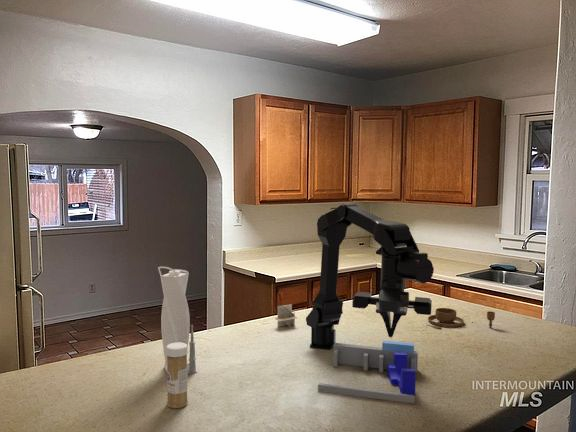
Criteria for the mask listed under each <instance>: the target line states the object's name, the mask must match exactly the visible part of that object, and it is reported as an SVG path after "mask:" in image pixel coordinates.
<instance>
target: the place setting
mask: <svg viewBox="0 0 576 432" xmlns="http://www.w3.org/2000/svg"><path fill="white" fill-rule="evenodd" d="M495 317H496V312H495V311H490V310H489V311H486V319H487V320H488V321H489V323H488V326H489V327H488V329H490V330H491V329H493V321H495ZM427 320H428V323H430V324H427V326H428V327H432V328H434V329H437V330H440V329H442V328H459V327H462V326H463V325H464V323H465V320H464V319H463V318H462V317H459V316H457V310H456V309H452V308H449V307H438V308H436V309H435V314H433V315H432V314H431V315H428V317H427ZM433 320H437V321H438V322H436V321H433ZM455 321H456V322H458V323H453V322H455Z"/></svg>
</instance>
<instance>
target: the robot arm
mask: <svg viewBox="0 0 576 432" xmlns="http://www.w3.org/2000/svg"><path fill="white" fill-rule="evenodd" d="M352 225H355V226H357V227H359V228H360V229H362V230H364V231H366V232H368V233H369V234H370V235H372V237H373V240H374V241H375V242H376V244H378V245H379V246H380V248H378V249H377V250H375V254H376V255H380V256H381V265H380V266H381V268H380V270H381V271H380V289H379V291H378V297H376V296H375V297H374V296H372V292H366V291H365V292H364V291H357V292H356V293H355V295H353V297H352V301H351V302H352V308H356V309H366V308H367V307H369V305H371V306H372V305H373V306H374V305H375V307H376V308H375V313H376V314H379V315H380V316H381V318H382V320H383V323H384V325H385V329H386V331H387V336H388V338H393V336H394V333H395V331H396V327H397V325H398V323H399V322H400V320H401V318H402V317H403V316H405V317H406V316H407V313H408V309H413V311H414V312H415V313H416V314H418V315H423V316H424V315H426V316H431V315H432V304H433V303H432V299H431V298H430V297H421V296H415V297H414V300H410V292H409V291H405V284H406V282H405V281H406V280H409V281H413V282H417V283H421V284H426V283H428V282H429V281H430V280H431V279H432V277H433V275H434V271H435V270H434V265H433V263H432V260H430V258H429V257H428V255H429V254H428V253H426V252H420V250H419V248H418V244H417V243H416V241H415V238H414V237H413V235H412V232H411V231H410V227H409V225H407V224H406V223H403V222H399V221H393V220H387V219H383V218H382V217H379V216H377V215H375V214H374V213H372V212H369V211H368V210H365V209H363V208H362V207H360V206H358V205H357V204H355V203H343V204H340V205H338V206H337V207H336V208H335V209H332V210H331V211H328V212H327V213H325V214H321V215H320V217H318V218H317V223H316V227H317V232H316V233H317V237H318V238H319V240H320V242H321V244H322V245H321V247H322V248H321V262H320V277H319V278H320V279H319V292H318V293H317V295H316V297H315V298H314V300H313V303H312V308H311V311H310V312H309V313H308V314H307V316H306V317H305V321H306V322H305V323H306V325H307V327H311V328H310V329H311V332H310V334H311V335H310V336H311V337H310V338H311V341H310V344H309V347H310V348H316V349H324V350H332V349H333V348H334V344H335V343H337V342H336V341H337V340H336V337H337V335H336V333H337V332H336V329H335V326H336V325H337V326H339V323H340V321H341V317H342V315H343V314H344V313H343V305H344V301H343V300H342V299H340V297H339V295H338V293H337V292H338V277H339V275H338V274H339V262H340V261H339V260H340V259H339V258H340V246H341V244H342V243H343V241H344V239H346V236H347V232H348V228H349V227H351V226H352ZM391 313H393V316H392V318H391ZM391 319H392V320H391Z"/></svg>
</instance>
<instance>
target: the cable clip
mask: <svg viewBox="0 0 576 432" xmlns="http://www.w3.org/2000/svg"><path fill="white" fill-rule="evenodd" d="M416 375H417V373H416V371H415V369H408V367H407V354H406V353H394V364H388V369H387V376H388V379H389V382H390V385H397V387H398V389H399V391H400V393H401V394H409V395H415V396H416Z"/></svg>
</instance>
